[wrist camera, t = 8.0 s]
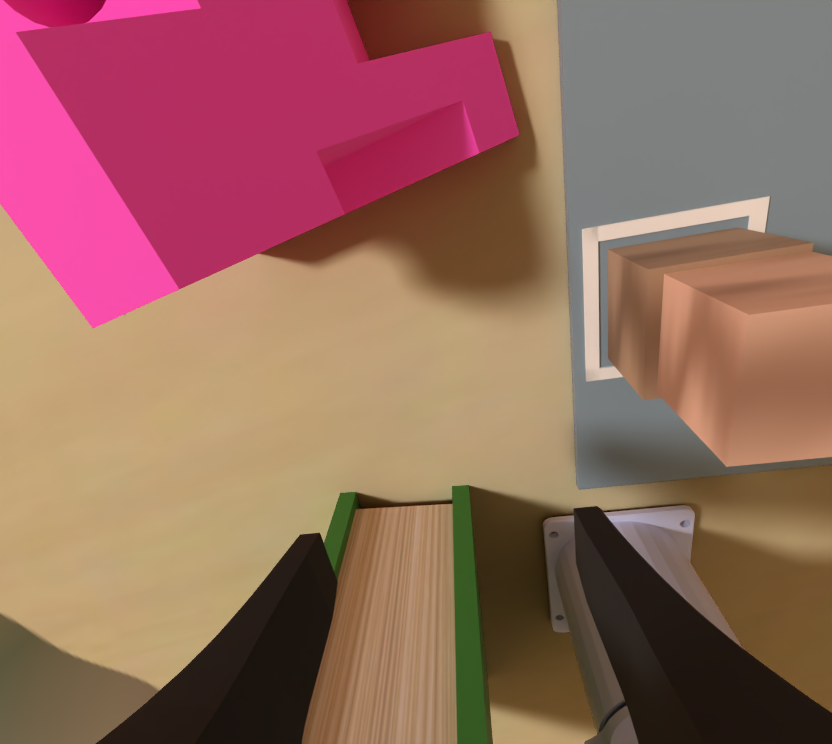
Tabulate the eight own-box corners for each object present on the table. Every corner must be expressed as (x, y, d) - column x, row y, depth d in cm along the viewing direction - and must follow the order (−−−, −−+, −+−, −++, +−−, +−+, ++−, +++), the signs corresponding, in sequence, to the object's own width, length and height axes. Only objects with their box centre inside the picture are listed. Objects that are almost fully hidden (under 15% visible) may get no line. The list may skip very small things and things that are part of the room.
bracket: (259, 253, 20) (93, 328, 10) (114, -14, 16) (-350, -267, 7) (516, 136, 17) (599, 98, 8) (416, -215, 13) (349, -1088, 4)
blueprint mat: (1000, 440, 21) (1016, 448, 21) (576, 483, 24) (579, 491, 23) (1284, -210, 12) (1328, -231, 12) (556, -26, 15) (561, -35, 14)
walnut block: (724, 342, 19) (787, 382, 16) (607, 358, 20) (643, 400, 17) (737, 227, 17) (813, 242, 14) (607, 249, 18) (648, 269, 14)
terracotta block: (788, 377, 16) (906, 449, 12) (656, 392, 16) (726, 466, 12) (812, 251, 14) (963, 285, 10) (663, 273, 15) (748, 314, 10)
